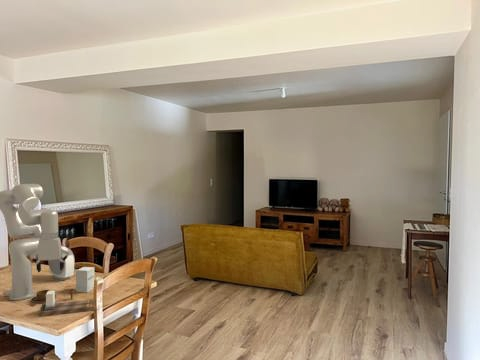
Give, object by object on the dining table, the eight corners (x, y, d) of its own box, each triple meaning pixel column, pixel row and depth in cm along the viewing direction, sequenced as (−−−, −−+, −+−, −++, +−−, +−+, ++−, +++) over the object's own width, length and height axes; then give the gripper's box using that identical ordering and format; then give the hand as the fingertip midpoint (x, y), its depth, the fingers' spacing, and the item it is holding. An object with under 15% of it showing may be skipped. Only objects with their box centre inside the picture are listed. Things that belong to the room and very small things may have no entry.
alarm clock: (76, 278, 222) (75, 247, 221) (63, 282, 215) (63, 250, 214) (59, 274, 231) (59, 243, 231) (47, 277, 224) (46, 246, 223)
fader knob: (44, 310, 168) (44, 295, 168) (47, 304, 175) (47, 290, 174) (53, 308, 169) (53, 294, 169) (56, 303, 176) (56, 289, 176)
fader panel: (39, 316, 166) (39, 309, 166) (44, 308, 176) (43, 301, 175) (97, 309, 174) (97, 302, 174) (99, 302, 184) (99, 295, 183)
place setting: (51, 293, 198) (51, 283, 198) (76, 299, 189) (76, 288, 189) (21, 304, 182) (20, 293, 182) (46, 311, 174) (46, 299, 173)
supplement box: (87, 292, 197) (86, 270, 197) (75, 291, 199) (75, 270, 198) (95, 288, 205) (94, 267, 204) (84, 287, 206) (83, 266, 206)
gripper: (27, 238, 164) (28, 274, 165) (67, 236, 170) (68, 271, 171) (31, 235, 172) (32, 270, 172) (70, 233, 177) (70, 266, 178)
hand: (50, 270), depth 171 cm, fingers open, 9 cm apart
